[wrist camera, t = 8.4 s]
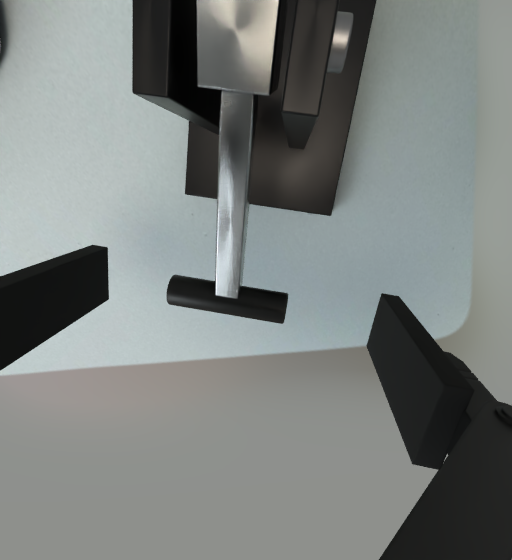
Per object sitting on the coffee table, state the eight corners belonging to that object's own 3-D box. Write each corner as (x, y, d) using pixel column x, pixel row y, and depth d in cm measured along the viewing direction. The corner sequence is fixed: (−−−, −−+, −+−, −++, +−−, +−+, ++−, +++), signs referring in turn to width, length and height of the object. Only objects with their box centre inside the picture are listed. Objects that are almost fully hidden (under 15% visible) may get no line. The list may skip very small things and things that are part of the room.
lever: (285, 304, 16) (281, 337, 14) (180, 286, 17) (163, 317, 15) (346, -14, 9) (356, -33, 7) (164, -33, 10) (127, -56, 8)
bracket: (329, 213, 22) (378, 272, 9) (190, 193, 23) (53, 221, 10) (372, 4, 18) (565, -408, 5) (202, -14, 19) (3, -422, 6)
